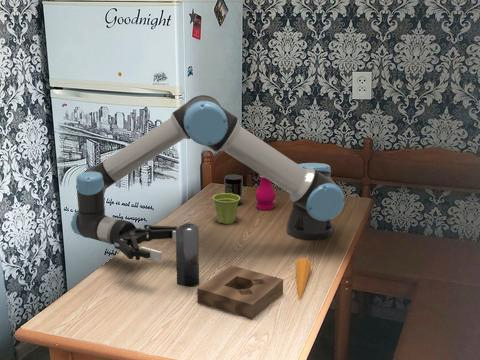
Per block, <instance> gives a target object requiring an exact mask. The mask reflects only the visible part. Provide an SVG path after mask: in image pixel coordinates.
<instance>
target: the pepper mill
mask: <svg viewBox="0 0 480 360" xmlns="http://www.w3.org/2000/svg"><path fill="white" fill-rule="evenodd" d="M258 176H259V178H260V181H259V182H260V183H259V186H258V188H257V190H256V192H255V199H256V200H257V202H256V209H258V210H260V211H270V210H273V209H274V207H275V206H274V205H275V204H274V200H276V192H275V190H274V187H273V184H272V182H271V181H270V180H268V179H266V178H265V177H263V176H262V175H260V174H259V173H258Z"/></svg>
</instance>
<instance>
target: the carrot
mask: <svg viewBox="0 0 480 360" xmlns="http://www.w3.org/2000/svg"><path fill="white" fill-rule="evenodd" d="M311 268H312V264H311V261H310V260H309V259H308V258H306V257H301V258H299V259H298V260H296V263H295V277H296V286H297V287H296V288H297V295H298V296H299V297H298V296H297V297H298V301H299V300H300V299H301V300H302V297H303V295H302V294H304V292H305V288H306V285H307V283H308V279H309V275H310V272H311ZM301 300H300V301H301Z"/></svg>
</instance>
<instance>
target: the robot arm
mask: <svg viewBox="0 0 480 360" xmlns="http://www.w3.org/2000/svg"><path fill="white" fill-rule="evenodd" d="M190 139H191V140H192V141H193V142H194V143H196V144H199V145H201V146H205V147H208V149H210V150H212V151H214V152H215V153H218V152H225V153H226V154H228V155H229V156H231V157H233V158H234V159H236V160H237V161H239V162H240V163H242V164H243V165H245V166H246V167H248V168H250V169H251V170H253V171H255V172H256V173H257V174H258V175H259V174H260V175H262V176H263V177H265V178H266V179H268V180H270V181H271V183H273V184H274V185H276V186H277V187H279V188H280V189H282V190H284V191H285V192H286V193H288V194H289V200H290V201H291V202H292V210H291V212H290V215H289V217H288V220H287V223H286V232H287V233H288V234H289V235H290V236H292V237H295V238H296V239H301V240H310V241H312V240H314V239H316V240H323V239H322V238H324V239H327V238H329V237H331V236H332V235H333V233H332V232H333V230H334V228H333V223H332V220H333V219H334V218H336V217H338V216H339V215H340V214H341V212H342V211H343V210H344V209H343V208H344V205H345V195H344V193H343V190H342V188H341V187H340V186H339V185H337V184H336V182H335V181H334V180H333V179H332V177H331V174H332V171H331V169H332V168H331V165H329V164H327V163H322V162H321V163H319V162H305V163H304V162H303V163H297V162H296V161H294V160H292V159H290V158H289V157H287V156H286V155H285V154H283V153H281V152H280V151H278V150H277V149H276V148H274V147H273V146H271V145H270V144H268V143H266V142H265V141H264V140H262V139H261V138H259V137H258V136H256V135H254V134H253V133H251V132H250V131H249V130H247V129H246V128H244V127H242V126H241V124H240V120H239V117H237V116H235V115H234V114H233V113H232V112H230V111H228V110H226V109H225V108H224V107H222V106H221V104H220V102H219V101H218V100H217V99H215V98H214V97H212V96H210V95H205V94H202V95H201V94H199V95H197V96H194V97H191V99H189V100H188V101H186V103H184V104H183V105H181V106H179V107H178V108H177V109H176V110H174V111H173V112H171V116H170V118H168V119H167V120H165V121H164V122H162V123H160V124H159V125H157V126H155V127H154V128H153V129H151V130H150V131H148V132H146V133H145V134H143V135H142V136H140V137H139V138H136V140H134V141H132V142H131V143H129V144H127V145H126V146H125V147H124V148H121V149H120V150H118V151H117V152H115V153H114V154H112V155H110V156H109V157H107V158H106V159H104V160H103V161H101V162H100V163H99V164H94V165H92V166H90V167H89V168H88V169H87V170H86V171H85V172H81V173H79V174H78V175H77V176H76V178H75V179H76V180H75V181H76V185H75V189H76V197H77V209H78V210H77V211H76V212H75V213H74V214H73V216H72V220H71V221H70V223H71V224H70V226H71V230H72V231H73V232H74V233H75V234H76V235H79V236H81V237H83V238H86V239H87V238H88V239H90V240H91V239H93V240H95V241H99V242H102V243H103V242H104V243H106V244H109V245H112V246H113V245H114V249H117V250H119V251H120V252H121V253H122V254H123V255H125V256H126V258H128V260H134V259H135V260H136V261H139V260H141V258H144V259H147V260H150V261H154V262H158V263H162V262H163V251H159V250H156V249H153V248H151V247H150V248H149V247H146V246H141V247H140V244H142V243H144V242H145V243H146V242H151V241H152V240H167V239H171V240H172V241H174V242H176V228H177V227H178V226H171V225H170V226H169V225H167V226H166V225H164V226H163V225H150V224H144V225H143V228H141V227H138V228H137V227H136V226H135V224H134V223H133V222H131V221H128V220H124V219H121V218H117V217H112V216H108V215H106V212H105V211H106V210H105V209H106V208H105V193H106V190H107V189H108V188H110V187H111V186H113V185H114V184H116V183H117V182H118V181H120V180H121V179H123V178H124V177H126V176H128V175H129V174H131V173H132V172H134V171H135V170H137V169H139V168H140V167H142V166H143V165H145V164H147V163H149V162H150V161H151V160H153V159H155V158H156V157H158V156H159V155H161V154H162V153H164V152H165V151H167V150H169V149H170V148H171V147H173V146H175V145H176V144H178V143H179V142H181V141H183V140H190ZM331 234H332V235H331ZM330 235H331V236H330ZM147 236H148V237H147ZM328 236H329V237H328ZM326 237H327V238H326ZM314 241H315V240H314Z"/></svg>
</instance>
